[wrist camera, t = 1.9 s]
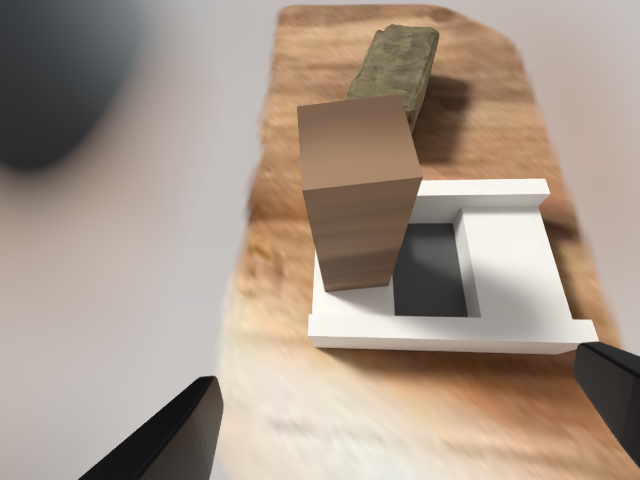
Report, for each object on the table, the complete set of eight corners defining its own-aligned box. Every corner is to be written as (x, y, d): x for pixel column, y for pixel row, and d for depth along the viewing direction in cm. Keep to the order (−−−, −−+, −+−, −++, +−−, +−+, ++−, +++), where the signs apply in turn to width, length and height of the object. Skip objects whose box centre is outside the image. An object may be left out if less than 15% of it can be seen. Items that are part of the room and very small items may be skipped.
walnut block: (388, 285, 21) (422, 176, 11) (325, 292, 21) (302, 190, 11) (378, 230, 22) (400, 93, 13) (320, 236, 23) (297, 106, 13)
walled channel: (556, 354, 20) (599, 343, 17) (314, 347, 22) (307, 335, 18) (517, 211, 25) (545, 178, 21) (320, 212, 26) (316, 182, 23)
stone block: (431, 74, 33) (443, 23, 28) (406, 162, 28) (416, 117, 24) (374, 66, 34) (378, 16, 30) (341, 149, 30) (340, 104, 25)
